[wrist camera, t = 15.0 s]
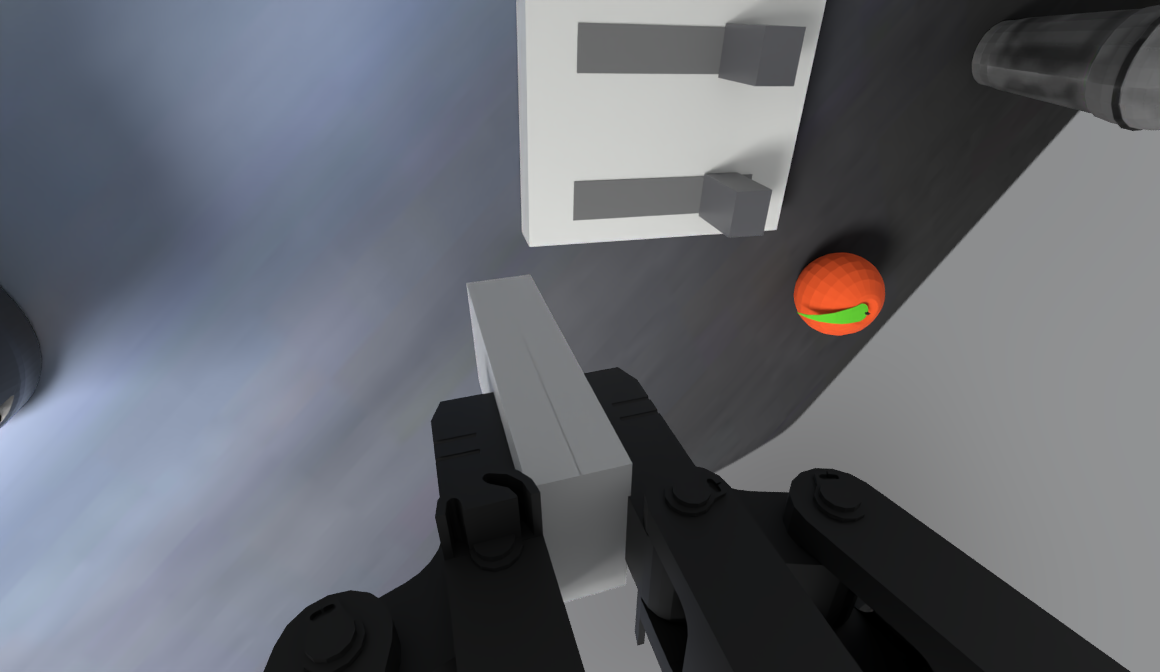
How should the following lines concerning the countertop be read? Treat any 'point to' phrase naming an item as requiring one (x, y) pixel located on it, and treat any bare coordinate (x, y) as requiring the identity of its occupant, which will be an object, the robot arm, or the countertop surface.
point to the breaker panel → (659, 115)
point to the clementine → (839, 293)
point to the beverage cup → (1080, 63)
